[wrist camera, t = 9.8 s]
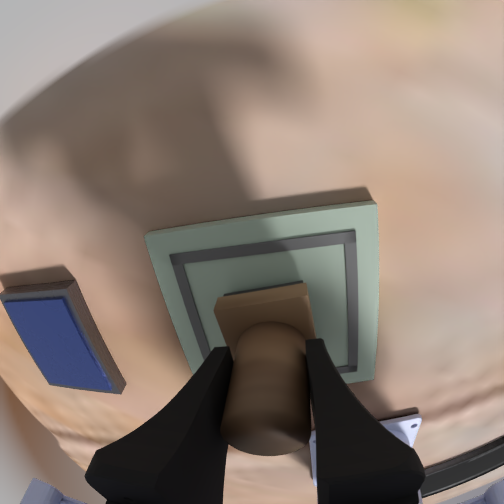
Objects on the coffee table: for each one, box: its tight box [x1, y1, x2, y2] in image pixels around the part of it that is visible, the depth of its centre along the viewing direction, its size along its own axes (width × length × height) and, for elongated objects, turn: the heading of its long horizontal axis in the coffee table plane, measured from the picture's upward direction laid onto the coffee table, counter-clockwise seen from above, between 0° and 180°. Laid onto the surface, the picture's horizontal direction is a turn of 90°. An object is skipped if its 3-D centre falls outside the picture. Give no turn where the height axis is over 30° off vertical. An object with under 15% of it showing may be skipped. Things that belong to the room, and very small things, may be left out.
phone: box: [420, 437, 504, 498], centre depth 22 cm, size 8×1×15 cm
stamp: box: [213, 280, 317, 456], centre depth 12 cm, size 5×4×6 cm
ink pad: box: [0, 280, 126, 394], centre depth 18 cm, size 8×7×1 cm
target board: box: [144, 200, 379, 384], centre depth 15 cm, size 10×10×1 cm
